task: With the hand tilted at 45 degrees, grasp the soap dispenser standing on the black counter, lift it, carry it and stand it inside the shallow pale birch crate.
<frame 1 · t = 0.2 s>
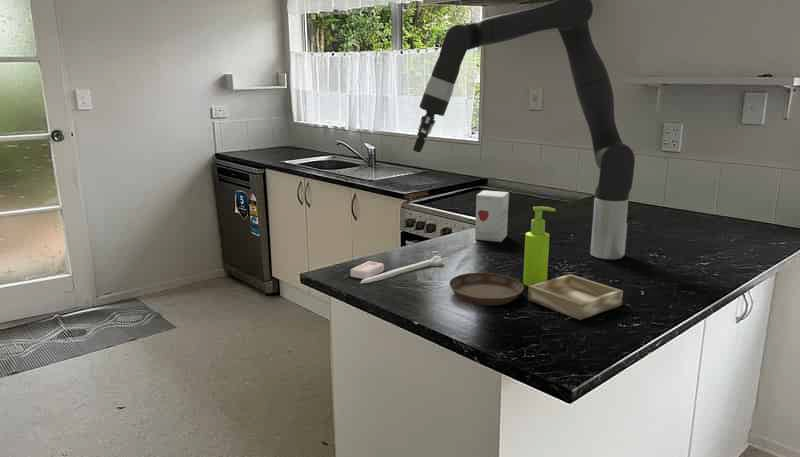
hand: (417, 150, 172), 31 cm above the worktop, tool tilted 20°, fingers open, 8 cm apart
supplement box: (491, 238, 196), on the worktop
soap bar: (367, 275, 161), on the worktop
soap dispenser: (536, 284, 152), on the worktop
plant saucer: (485, 296, 144), on the worktop
white ball-headed stick: (404, 275, 161), on the worktop
birch crate: (574, 302, 139), on the worktop
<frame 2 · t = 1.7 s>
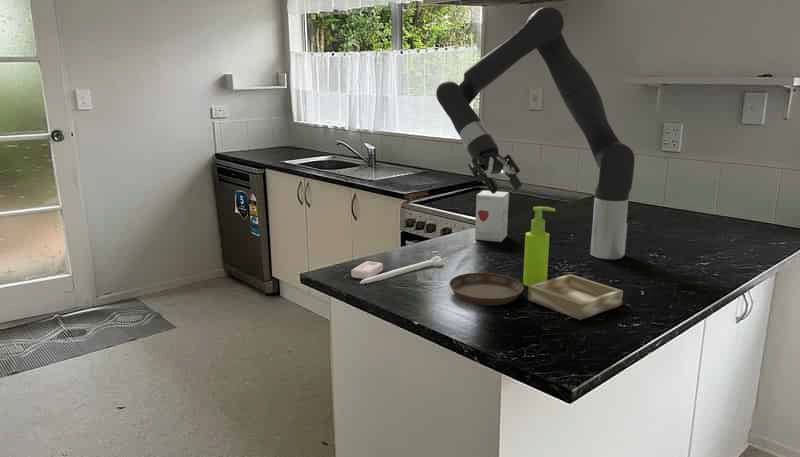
hand: (507, 190, 156), 23 cm above the worktop, tool tilted 45°, fingers open, 8 cm apart
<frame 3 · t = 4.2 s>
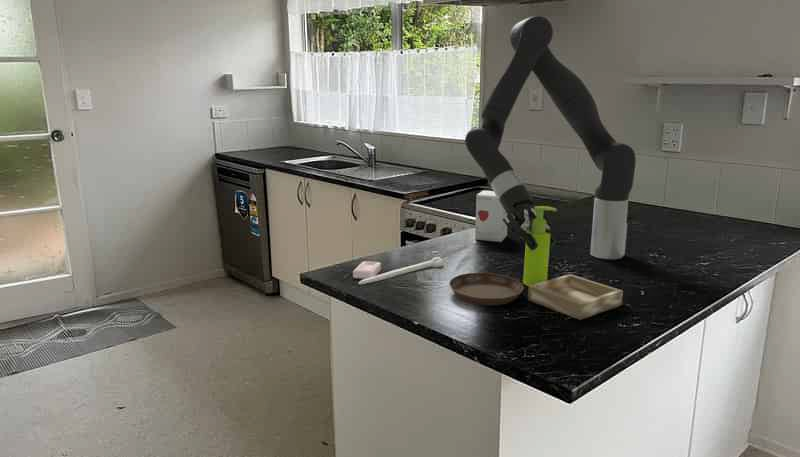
hand: (544, 246, 148), 10 cm above the worktop, tool tilted 45°, fingers closed on soap dispenser, 6 cm apart
soap dispenser: (536, 284, 152), on the worktop, touching gripper
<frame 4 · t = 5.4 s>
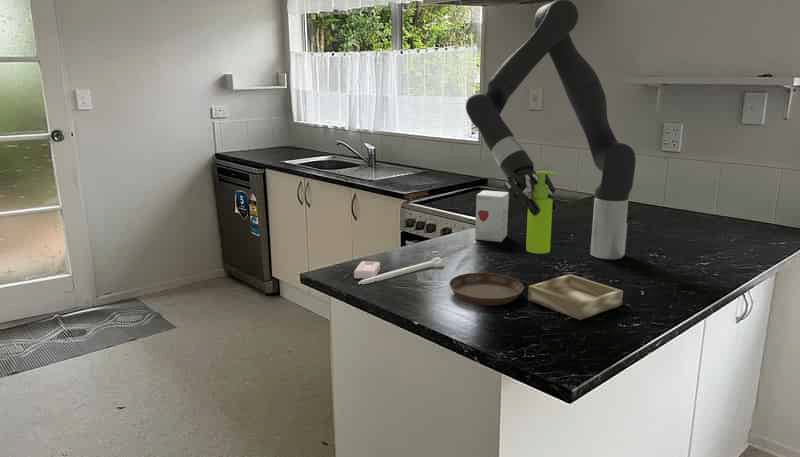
hand: (546, 211, 146), 19 cm above the worktop, tool tilted 45°, fingers closed on soap dispenser, 6 cm apart
soap dispenser: (540, 251, 150), point 9 cm above the worktop, touching gripper
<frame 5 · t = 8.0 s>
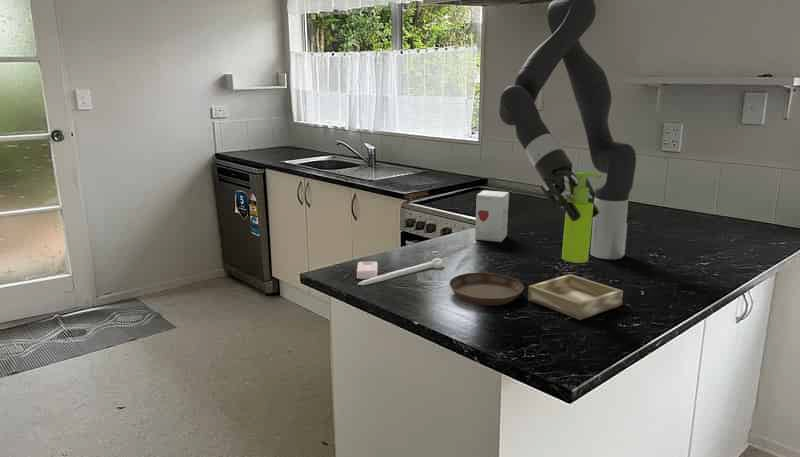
hand: (586, 216, 133), 21 cm above the worktop, tool tilted 45°, fingers closed on soap dispenser, 6 cm apart
soap dispenser: (577, 260, 137), point 10 cm above the worktop, touching gripper
when the fingers open (13 cm above the worktop, at t = 9.9 s): soap dispenser drops 1 cm, resting on birch crate.
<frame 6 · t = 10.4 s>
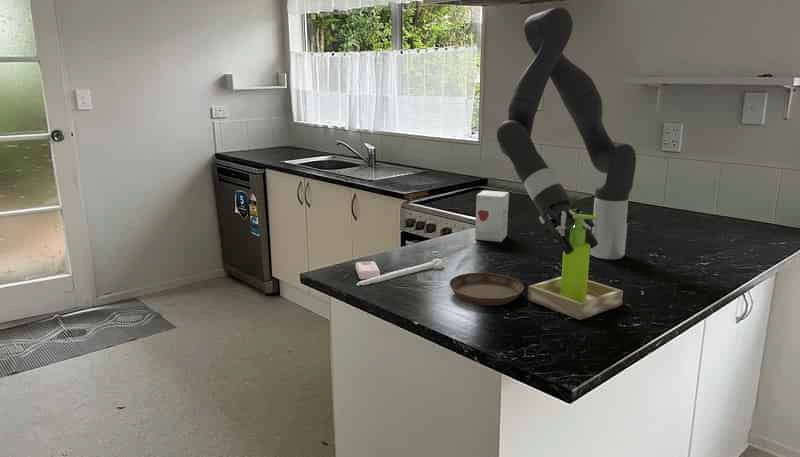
hand: (583, 249, 135), 13 cm above the worktop, tool tilted 45°, fingers open, 8 cm apart
soap dispenser: (575, 299, 139), point 1 cm above the worktop, touching birch crate
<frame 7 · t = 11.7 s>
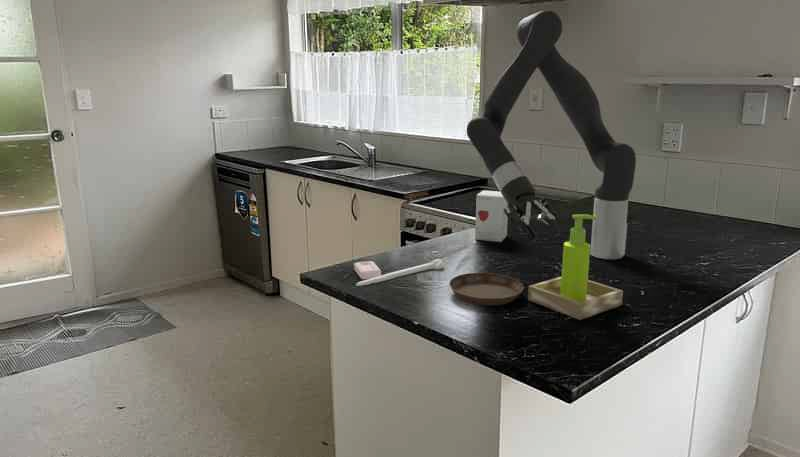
hand: (546, 237, 143), 14 cm above the worktop, tool tilted 45°, fingers open, 8 cm apart
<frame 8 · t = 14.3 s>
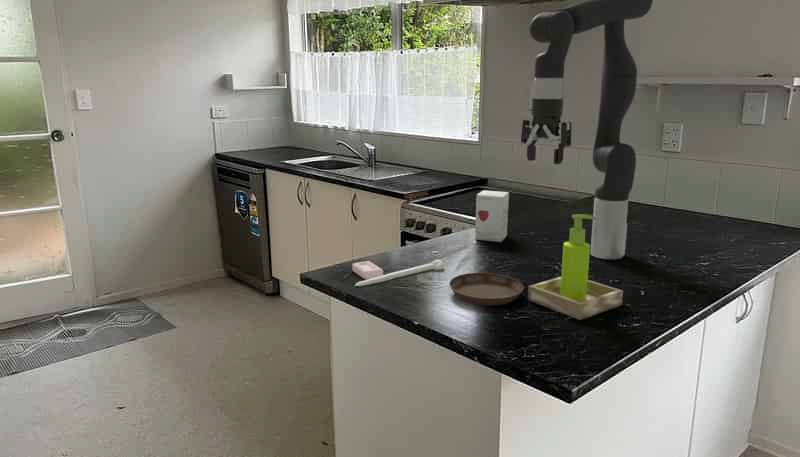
hand: (544, 162, 152), 30 cm above the worktop, tool pointing down, fingers open, 8 cm apart
at the end: soap dispenser inside the target area on the birch crate (0.5 cm from its centre), point 0.6 cm above the birch crate's base; soap dispenser tilted 0°; the gripper is holding nothing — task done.
